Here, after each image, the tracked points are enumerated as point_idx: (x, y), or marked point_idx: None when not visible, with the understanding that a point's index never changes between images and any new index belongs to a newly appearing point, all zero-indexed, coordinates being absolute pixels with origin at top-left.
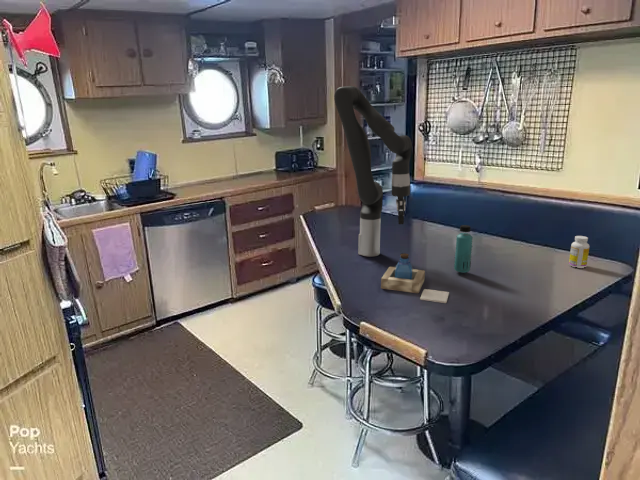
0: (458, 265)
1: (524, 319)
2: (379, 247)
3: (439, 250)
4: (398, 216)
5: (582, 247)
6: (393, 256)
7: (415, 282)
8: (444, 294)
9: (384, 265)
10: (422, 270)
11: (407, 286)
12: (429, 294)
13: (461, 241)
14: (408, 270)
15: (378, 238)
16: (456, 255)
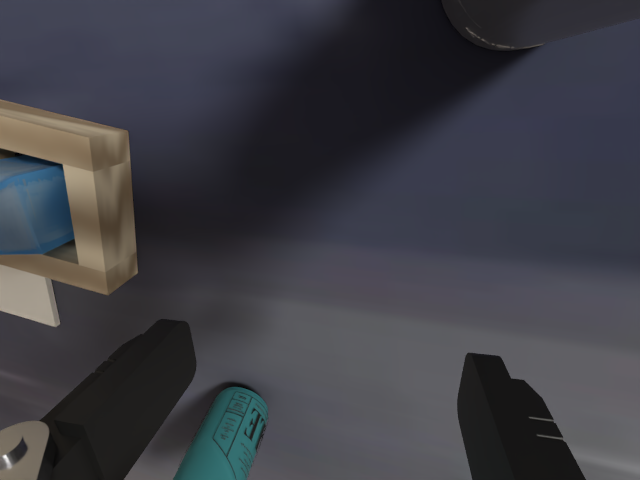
0: (208, 412)
1: (9, 422)
2: (511, 44)
3: (550, 393)
4: (66, 409)
5: None
6: (450, 156)
7: None
8: (31, 311)
9: (272, 100)
10: (104, 286)
11: None
12: (7, 271)
13: None
14: None
15: (512, 16)
16: (200, 444)
